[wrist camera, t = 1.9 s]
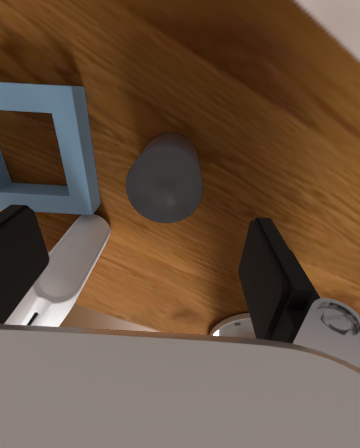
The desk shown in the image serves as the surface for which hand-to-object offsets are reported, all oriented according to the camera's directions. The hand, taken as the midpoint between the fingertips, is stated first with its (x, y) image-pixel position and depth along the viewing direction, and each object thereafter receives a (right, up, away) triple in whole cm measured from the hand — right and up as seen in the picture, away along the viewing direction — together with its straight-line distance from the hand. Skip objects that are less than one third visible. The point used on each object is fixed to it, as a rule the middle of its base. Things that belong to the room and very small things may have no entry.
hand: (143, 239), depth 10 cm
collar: (-12, +8, +12) cm, 19 cm away
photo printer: (-10, -2, +18) cm, 21 cm away
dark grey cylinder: (+1, +7, +12) cm, 14 cm away
